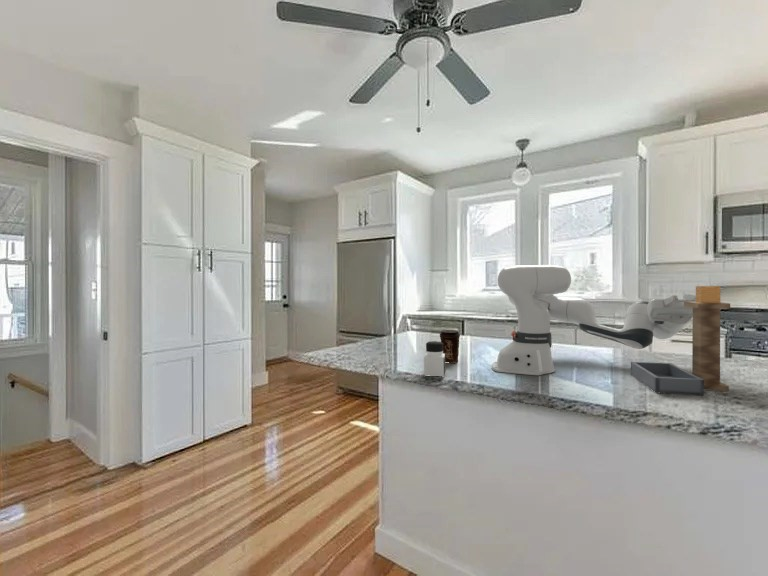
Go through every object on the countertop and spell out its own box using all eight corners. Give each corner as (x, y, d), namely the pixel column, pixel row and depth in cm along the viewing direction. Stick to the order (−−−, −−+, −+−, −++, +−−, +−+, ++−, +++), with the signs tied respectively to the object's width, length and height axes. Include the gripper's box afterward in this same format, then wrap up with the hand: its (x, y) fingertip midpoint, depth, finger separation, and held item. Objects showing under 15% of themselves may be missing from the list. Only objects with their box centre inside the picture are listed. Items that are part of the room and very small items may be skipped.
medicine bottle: (444, 377, 137) (443, 343, 137) (424, 376, 138) (423, 343, 138) (445, 372, 144) (444, 340, 144) (425, 372, 145) (425, 339, 145)
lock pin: (700, 303, 118) (700, 286, 118) (678, 300, 132) (678, 285, 132) (720, 303, 117) (720, 286, 117) (695, 300, 131) (695, 285, 131)
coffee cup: (439, 359, 166) (439, 329, 166) (459, 359, 165) (459, 329, 165) (440, 364, 158) (439, 332, 157) (461, 364, 157) (460, 332, 156)
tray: (655, 392, 115) (655, 377, 115) (630, 374, 136) (630, 361, 136) (703, 395, 112) (704, 379, 112) (670, 376, 133) (670, 363, 133)
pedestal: (697, 389, 117) (698, 303, 117) (683, 382, 126) (684, 301, 125) (729, 391, 115) (730, 303, 114) (713, 383, 124) (713, 301, 123)
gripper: (712, 323, 136) (732, 306, 124) (645, 322, 142) (658, 305, 130) (707, 306, 139) (727, 288, 127) (642, 306, 145) (654, 289, 133)
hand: (691, 297), depth 129 cm, fingers open, 8 cm apart
